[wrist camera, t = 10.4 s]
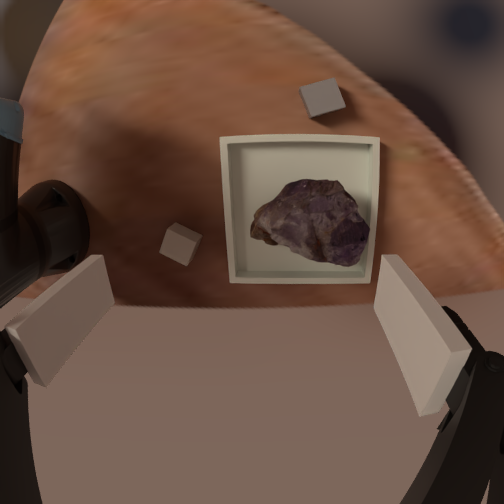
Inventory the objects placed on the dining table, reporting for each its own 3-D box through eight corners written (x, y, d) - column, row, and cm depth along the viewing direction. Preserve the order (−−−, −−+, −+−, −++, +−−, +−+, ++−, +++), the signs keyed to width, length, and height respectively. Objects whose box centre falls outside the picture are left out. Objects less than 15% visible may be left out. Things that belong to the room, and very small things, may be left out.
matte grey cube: (167, 244, 39) (159, 252, 36) (175, 222, 37) (167, 228, 35) (193, 257, 39) (186, 266, 36) (203, 235, 38) (196, 242, 35)
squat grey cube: (309, 118, 31) (311, 116, 28) (298, 91, 30) (299, 87, 27) (341, 109, 30) (346, 106, 27) (330, 82, 29) (334, 77, 26)
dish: (233, 274, 39) (229, 283, 37) (224, 137, 33) (219, 137, 30) (365, 274, 37) (370, 283, 34) (373, 137, 30) (379, 137, 28)
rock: (334, 255, 37) (360, 182, 33) (356, 291, 29) (392, 201, 25) (245, 236, 36) (266, 155, 31) (247, 271, 28) (274, 166, 24)
